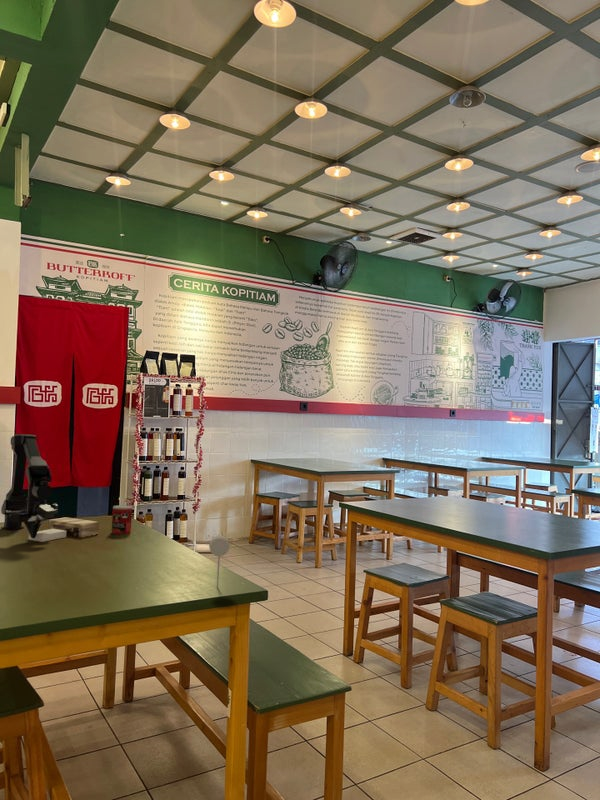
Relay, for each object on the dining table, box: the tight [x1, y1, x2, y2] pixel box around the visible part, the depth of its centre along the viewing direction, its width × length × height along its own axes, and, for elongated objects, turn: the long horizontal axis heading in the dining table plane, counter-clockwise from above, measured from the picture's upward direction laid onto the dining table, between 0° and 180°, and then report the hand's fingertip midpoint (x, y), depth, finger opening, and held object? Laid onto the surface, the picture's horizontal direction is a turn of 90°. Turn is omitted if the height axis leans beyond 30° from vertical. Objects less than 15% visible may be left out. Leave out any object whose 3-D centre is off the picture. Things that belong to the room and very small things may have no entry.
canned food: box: [111, 504, 133, 535], centre depth 252 cm, size 8×8×11 cm
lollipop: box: [208, 535, 231, 588], centre depth 177 cm, size 6×6×15 cm
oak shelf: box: [48, 517, 100, 538], centre depth 246 cm, size 18×9×5 cm, turn 66°
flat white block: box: [28, 528, 67, 543], centre depth 234 cm, size 7×12×2 cm, turn 156°
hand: (33, 538), depth 227 cm, fingers closed
